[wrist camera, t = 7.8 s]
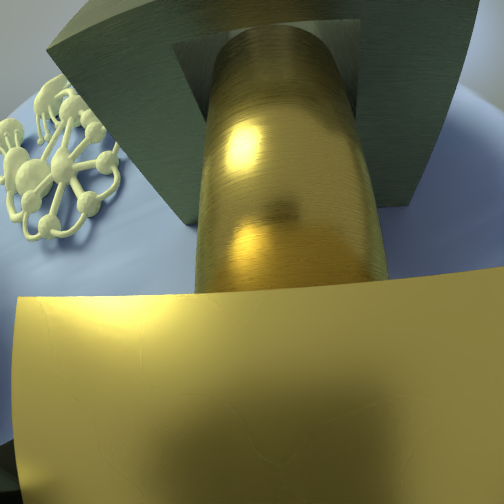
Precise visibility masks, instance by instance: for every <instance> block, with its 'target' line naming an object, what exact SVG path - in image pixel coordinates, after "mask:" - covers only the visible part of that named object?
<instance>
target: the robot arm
mask: <svg viewBox="0 0 504 504" xmlns="http://www.w3.org/2000/svg"><path fill="white" fill-rule="evenodd" d="M0 504H24V503H23V499H22V494H21V489H20V483H19V477H18V471H17V464H16V456H15V448H14V439H12V440H11V441H9V442H7V443H5V444H3V445H1V446H0Z"/></svg>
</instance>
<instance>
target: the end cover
mask: <svg viewBox="0 0 504 504" xmlns="http://www.w3.org/2000/svg"><path fill="white" fill-rule="evenodd" d="M11 402H12V424H13V437H14V448H15V456H16V464H17V471H18V477H19V483H20V489H21V494H22V499H23V503H24V504H504V266H502V267H495V268H487V269H480V270H472V271H464V272H456V273H448V274H440V275H431V276H422V277H413V278H404V279H394V280H389V275H388V268H387V261H386V255H385V249H384V243H383V237H382V232H381V227H380V221H379V216H378V211H377V206H376V202H375V197H374V193H373V188H372V184H371V179H370V175H369V171H368V167H367V163H366V159H365V155H364V152H363V148H362V144H361V140H360V137H359V133H358V130H357V126H356V123H355V120H354V116H353V113H352V110H351V107H350V103H349V100H348V97H347V94H346V91H345V88H344V85H343V82H342V79H341V77H340V74H339V71H338V68H337V65H336V63H335V60H334V57H333V55H332V53H331V51H330V50H329V48H328V47H327V46H326V45H325V44H324V42H323V41H322V40H320V39H319V38H318V37H316V36H315V35H313V34H312V33H310V32H308V31H306V30H303V29H301V28H297V27H294V26H289V25H279V24H272V25H263V26H257V27H254V28H251V29H248V30H245V31H243V32H241V33H239V34H238V35H236V36H234V37H233V38H232V39H230V40H229V41H228V42H227V43H226V44H225V45H224V46H223V47H222V48H221V50H220V51H219V53H218V55H217V57H216V59H215V63H214V67H213V74H212V82H211V90H210V98H209V107H208V116H207V125H206V134H205V144H204V155H203V166H202V177H201V189H200V203H199V217H198V232H197V249H196V269H195V293H194V294H179V295H150V296H108V297H18V300H17V307H16V316H15V325H14V336H13V349H12V372H11Z"/></svg>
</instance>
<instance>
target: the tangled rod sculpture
mask: <svg viewBox="0 0 504 504" xmlns="http://www.w3.org/2000/svg"><path fill="white" fill-rule="evenodd" d="M66 84H67V78H66V77H65V75H62V74H61V75H58V76H57V77H55V78H53V79H52V80H50V81H48V82H47V83H46V84H45V85H44V86H43V87H42V88H41V90H40V92H39V93H38V95H37V96H36V98H35V101H34V111H35V113H36V123H37V130H38V135H39V139H38V141H37V143H38V145H42V144H43V142H44V140H45V141H46V142H49V141H50V142H49V144H48V146H47V147H46V149H45V151H44V153H43V155H42V157H41V159H31V160H30V156H29V154H28V152H27V151H26V150H25V149H24V148H22V147H20V146H21V144H22V142H23V139H24V129H23V125H22V124H21V123H20V122H19V121H18V120H16V119H13V118H8V119H5V120H3V121H1V122H0V154H3V155H4V157H5V158H4V165H3V166H4V173H5V175H4V176H3V177H2V176H1V175H0V185H5V186H6V190H7V199H6V205H7V210H8V213H9V215H10V220H11V221H12V222H14V223H20V222H23V233H24V236H25V237H26V239H27V240H28V241H38V240H39V239H41V238H42V237H43V238H45V239H49V240H51V239H54V238H55V237H59V238H64V237H69V236H71V235H73V234H74V233H76V232H77V231H78V230H79V229H80V228H81V226H82V225H83V224H84V222H85V220H86V218H87V217H91V216H94V215H96V214H97V213H98V212H99V210H100V208H101V201H102V200H104V199H106V198H107V197H109V196H110V195H111V194H113V193H114V192H115V191H116V189H117V188H118V186H119V185H120V179H121V176H120V172H119V170H118V165H119V159H118V156H117V153H118V151H119V148H120V146H119V145H118V143H117V142H116V143H115V146H114V148H113V151H105V152H102V153H101V154H100V155H99V156H98V157H97V159H95V160H90V161H85V162H81V163H76V164H75V162H74V161H75V160H76V159H77V157H78V156H79V155H80V154H81V153H82V152H83V151H84V150H85V148H86V147H87V146H88V145H89V144H90V143H93V144H94V143H99V142H101V141H102V140H103V139H104V138H105V136H106V131H107V130H106V128H105V127H104V126H103V124H102V123H101V122H100V121H99V119H98V118H97V117H96V116H95V114H94V113H93V112H92V110H91V109H90V108H89V107H88V105H87V104H86V103H85V101H84V100H83V99H82V98H81V96H80V95H77V94H76V91H75V90H74V89H72V88H69V87H70V86H71V83H70V82H69V83H68V84H67V85H66ZM68 95H69V97H68V98H66V99H65V100H64V101H63V97H65V96H68ZM58 114H59V117H60V120H61V122H60V121H57V120H56V118H55V117H56V116H57V115H58ZM40 118H41V119H43V124H44V129H45V133H46V135H45V136H44V138H43V136H42V132H41V127H40ZM49 119H52V121H53V122H54V123H55V128H56V131H55V133H54V135H53V136H51V135H50V133H49V129H48V126H47V122H46V120H49ZM65 125H66V129H65V133H64V137H63V141H62V145H61V147H60V148H59V149H58V150H57V152H56V153H55V155H54V157H53V159H52V161H51V167H50V166H49V164H48V163H46V161H47V159H48V157H49V155H50V153H51V151H52V149H53V147H54V145H55V143H56V141H57V140H58V138H59V136H60V134H61V132H62V131H63V129H64V127H65ZM81 125H82V126H83V127H84V128H85V129H86V130H85V137H86V138H85V139H84V140H83V141H82V142H81V143H80V144H79V145H78V146H77V148H76V149H75V150H74V151H73V152H72V153H71V154H70V153H69V151H68V149H67V148H68V144H69V139H70V135H71V131H72V128H74V127H78V126H81ZM91 168H97V170H98V171H99V172H100V173H102V174H104V175H110V174H112V173H113V174H114V183H113V184H112V186H111V187H110V188H109V189H108V190H107V191H105V192H104V193H102V194H100V195H98V194H97V193H95V192H92V191H87V192H84V190H83V188H82V187H81V185H80V183H79V181H78V179H77V174H78V171H82V170H86V169H91ZM53 180H54V181H55V182H56V183H57V184H58V187H57V190H56V193H55V196H54V199H53V202H52V205H51V209H50V212H49V214H48V215H44V216H43V217H42V218H41V219H40V221H39V224H38V231H39V233H38V234H36V235H30V234H29V232H28V218H29V215H30V214H31V213H35V212H37V211H38V210H39V209H40V207H41V204H42V198H44V197H45V196H46V195H47V194H48V193H49V191H50V189H51V188H52V185H53ZM66 185H71V187H72V189H73V191H74V193H75V195H76V196H77V198H78V201H77V208H78V211H79V212H80V213H81V214H82V215H81V217H80V219H79V220H78V222H77V223H76V224H75V225H74V226H73V227H72V228H71V229H69V230H67V231H60V229H61V225H60V221H59V219H58V218H57V217H56V215H57V212H58V208H59V205H60V202H61V199H62V196H63V193H64V190H65V187H66ZM17 192H18V193H19V194H20V195H21V196H22V199H21V206H22V208H23V209H22V211H21V212H20V213H18V214H17V211H16V209H15V206H14V194H16V193H17Z"/></svg>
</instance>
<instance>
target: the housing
mask: <svg viewBox="0 0 504 504" xmlns="http://www.w3.org/2000/svg"><path fill="white" fill-rule="evenodd" d="M479 1H480V0H89V1H88V2H87V3H86V4H85V5H84V6H83V7H82V8H81V9H80V10H79V12H78V13H77V14H76V15H75V16H74V17H73V18H72V19H71V20H70V21H69V23H68V24H67V25H66V26H65V27H64V28H63V30H62V31H61V32H60V33H59V34H58V36H57V37H56V38H55V39H54V40H53V42H52V43H51V44H50V45H49V47H48V48H47V50H46V51H47V53H48V54H49V55H50V57H51V58H52V59H53V61H54V62H55V63H56V65H57V66H58V67H59V69H60V70H61V71H62V73H63V74H64V75H65V77H66V78H67V79H68V81H69V82H70V83H71V85H72V86H73V87H74V89H75V90H76V91H77V92H78V94H79V95H80V96H81V98H82V99H83V100H84V101H85V103H86V104H87V105H88V107H89V108H90V109H91V110H92V112H93V113H94V114H95V116H96V117H97V118H98V119H99V121H100V122H101V123H102V124H103V126H104V127H105V128H106V130H107V131H108V132H109V133H110V135H111V136H112V137H113V138H114V140H115V141H116V142H117V143H118V145H119V146H120V147H121V148H122V150H123V151H124V152H125V153H126V154H127V156H128V157H129V158H130V159H131V161H132V162H133V163H134V164H135V166H136V167H137V168H138V169H139V170H140V172H141V173H142V174H143V175H144V177H145V178H146V179H147V180H148V181H149V183H150V184H151V185H152V186H153V187H154V189H155V190H156V191H157V192H158V193H159V195H160V196H161V197H162V198H163V199H164V201H165V202H166V203H167V204H168V205H169V207H170V208H171V209H172V210H173V211H174V213H175V214H176V215H177V216H178V217H179V219H180V220H181V221H182V222H183V223H184V224H185V225H188V224H197V223H198V217H199V203H200V189H201V177H202V166H203V155H204V144H205V134H206V125H207V116H208V107H209V98H210V90H211V82H212V74H213V67H214V63H215V59H216V57H217V55H218V53H219V51H220V50H221V48H222V47H223V46H224V45H225V44H226V43H227V42H228V41H229V40H230V39H232V38H233V37H234V36H236V35H238V34H239V33H241V32H243V31H245V30H248V29H251V28H254V27H257V26H263V25H272V24H279V25H289V26H294V27H297V28H301V29H303V30H306V31H308V32H310V33H312V34H313V35H315V36H316V37H318V38H319V39H320V40H322V41H323V42H324V44H325V45H326V46H327V47H328V48H329V50H330V51H331V53H332V55H333V57H334V60H335V63H336V65H337V68H338V71H339V74H340V77H341V79H342V82H343V85H344V88H345V91H346V94H347V97H348V100H349V103H350V107H351V110H352V113H353V116H354V120H355V123H356V126H357V130H358V133H359V137H360V140H361V144H362V148H363V152H364V155H365V159H366V163H367V167H368V171H369V175H370V179H371V184H372V188H373V193H374V197H375V202H376V206H377V207H389V206H406V205H409V203H410V201H411V198H412V196H413V194H414V192H415V190H416V188H417V185H418V183H419V181H420V179H421V177H422V174H423V172H424V170H425V167H426V165H427V163H428V161H429V158H430V156H431V153H432V151H433V149H434V146H435V144H436V141H437V139H438V136H439V134H440V131H441V128H442V126H443V123H444V121H445V118H446V115H447V112H448V110H449V107H450V104H451V101H452V98H453V96H454V93H455V90H456V87H457V84H458V81H459V77H460V74H461V71H462V68H463V64H464V61H465V58H466V54H467V51H468V47H469V43H470V40H471V36H472V32H473V28H474V24H475V20H476V15H477V11H478V6H479Z"/></svg>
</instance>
